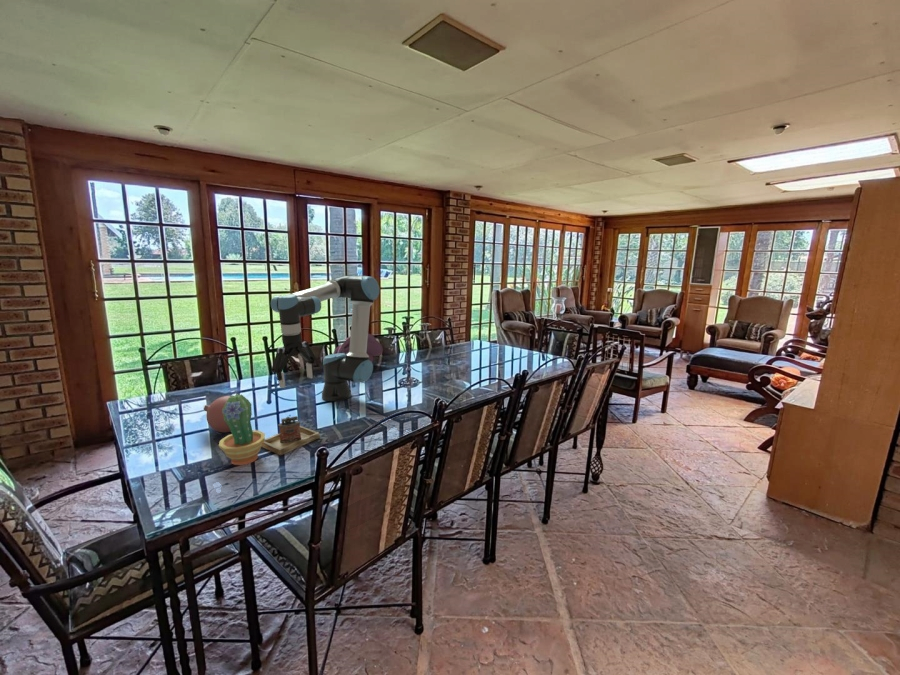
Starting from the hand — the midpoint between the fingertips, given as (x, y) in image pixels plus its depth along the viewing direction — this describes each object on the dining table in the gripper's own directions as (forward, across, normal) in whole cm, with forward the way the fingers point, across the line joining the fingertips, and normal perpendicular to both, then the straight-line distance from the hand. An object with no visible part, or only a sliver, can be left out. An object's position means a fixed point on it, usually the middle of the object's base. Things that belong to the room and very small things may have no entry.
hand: (296, 382), depth 168 cm
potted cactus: (+21, +28, +4) cm, 35 cm away
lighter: (+21, +10, +6) cm, 24 cm away
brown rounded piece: (+21, +18, -27) cm, 39 cm away
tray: (+21, +10, +6) cm, 24 cm away
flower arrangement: (+25, -76, -46) cm, 92 cm away
